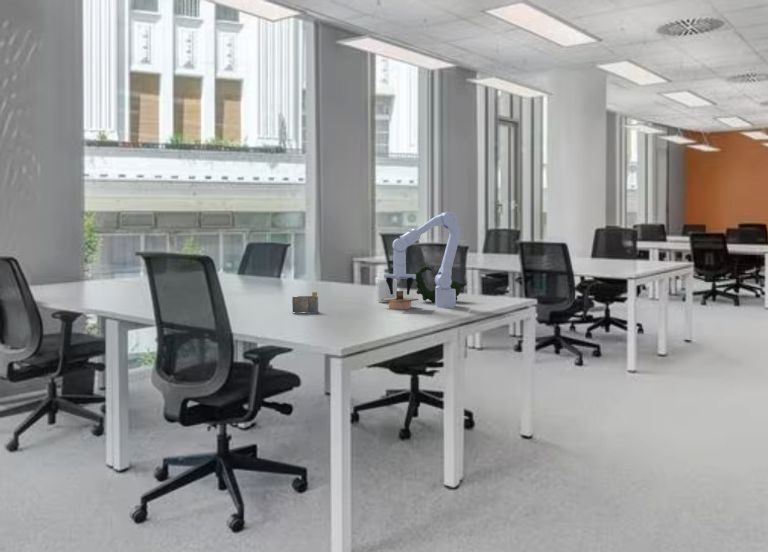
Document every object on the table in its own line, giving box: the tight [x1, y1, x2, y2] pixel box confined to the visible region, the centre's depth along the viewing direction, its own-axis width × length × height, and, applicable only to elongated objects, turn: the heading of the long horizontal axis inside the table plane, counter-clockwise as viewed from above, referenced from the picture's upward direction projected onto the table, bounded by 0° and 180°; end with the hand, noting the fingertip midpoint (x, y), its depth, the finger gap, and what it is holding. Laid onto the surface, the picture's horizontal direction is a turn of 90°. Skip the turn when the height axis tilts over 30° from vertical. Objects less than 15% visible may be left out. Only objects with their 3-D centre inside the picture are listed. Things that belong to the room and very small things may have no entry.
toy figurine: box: [414, 265, 467, 303], centre depth 338 cm, size 9×19×25 cm
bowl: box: [388, 301, 412, 310], centre depth 316 cm, size 10×10×4 cm
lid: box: [381, 290, 419, 303], centre depth 316 cm, size 12×12×4 cm
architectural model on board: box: [291, 291, 319, 313], centre depth 309 cm, size 11×3×10 cm, turn 94°
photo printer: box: [377, 277, 398, 304], centre depth 341 cm, size 10×4×12 cm, turn 123°
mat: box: [401, 308, 437, 315], centre depth 302 cm, size 13×13×1 cm
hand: (399, 294), depth 316 cm, fingers open, 7 cm apart
